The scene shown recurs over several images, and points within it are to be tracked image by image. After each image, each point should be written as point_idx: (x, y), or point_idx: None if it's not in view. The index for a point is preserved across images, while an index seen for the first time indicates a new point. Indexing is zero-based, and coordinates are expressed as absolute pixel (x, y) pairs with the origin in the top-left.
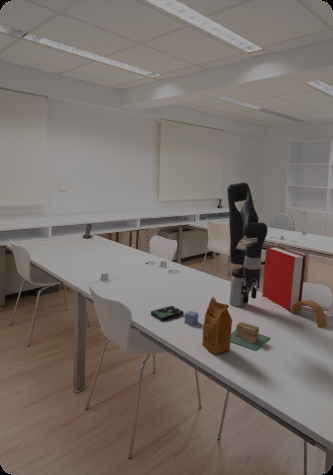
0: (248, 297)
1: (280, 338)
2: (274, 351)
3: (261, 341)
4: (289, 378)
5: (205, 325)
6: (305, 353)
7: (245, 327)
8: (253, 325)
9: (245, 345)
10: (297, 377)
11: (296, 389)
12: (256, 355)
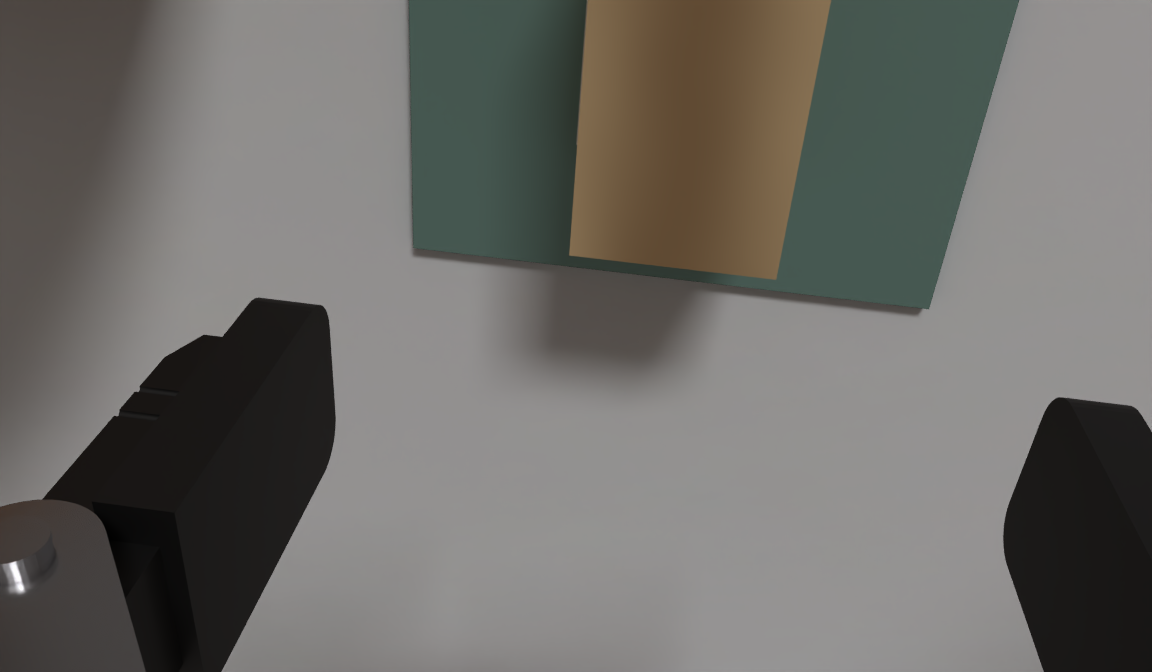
0: (240, 621)
1: (992, 418)
2: (560, 425)
3: None
4: None
5: None
6: (725, 669)
7: (592, 70)
8: (785, 173)
9: (435, 88)
10: None
11: None
12: (313, 281)
